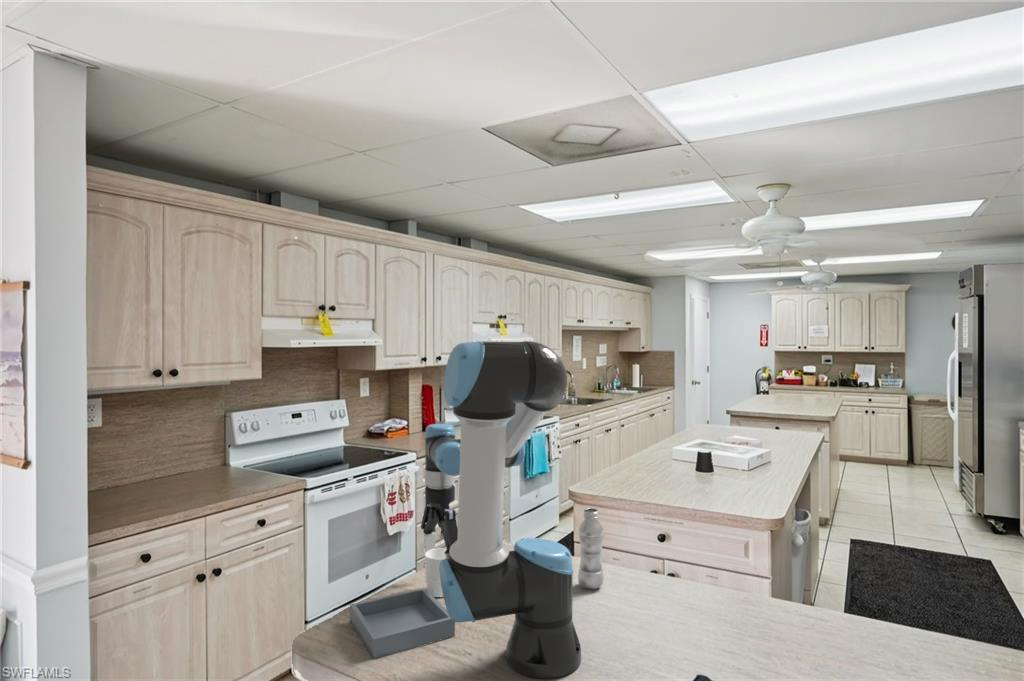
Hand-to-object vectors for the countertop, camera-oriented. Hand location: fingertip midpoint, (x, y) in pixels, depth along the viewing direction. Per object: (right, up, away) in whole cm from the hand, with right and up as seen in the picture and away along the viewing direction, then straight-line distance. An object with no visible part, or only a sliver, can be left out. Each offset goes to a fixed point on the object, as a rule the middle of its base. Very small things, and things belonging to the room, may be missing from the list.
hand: (440, 567), depth 151 cm
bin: (-6, -6, -19) cm, 21 cm away
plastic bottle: (+39, -6, +2) cm, 40 cm away
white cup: (0, -6, 0) cm, 6 cm away
